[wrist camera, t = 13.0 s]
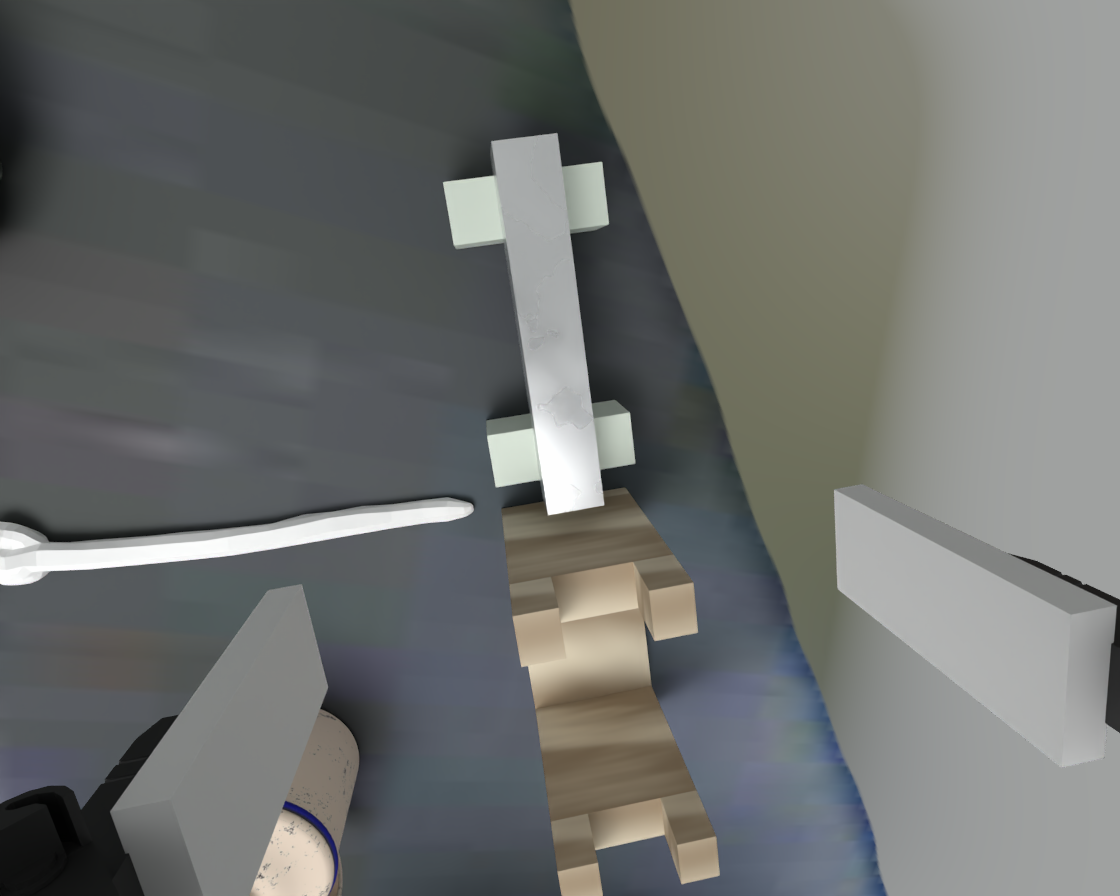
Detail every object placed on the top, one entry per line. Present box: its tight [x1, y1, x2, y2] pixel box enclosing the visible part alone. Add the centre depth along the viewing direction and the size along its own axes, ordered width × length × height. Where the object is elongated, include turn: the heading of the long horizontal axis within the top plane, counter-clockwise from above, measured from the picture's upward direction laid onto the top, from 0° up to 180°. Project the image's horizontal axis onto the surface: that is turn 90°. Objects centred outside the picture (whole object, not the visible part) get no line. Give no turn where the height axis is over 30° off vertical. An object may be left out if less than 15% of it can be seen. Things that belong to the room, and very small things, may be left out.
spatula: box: [0, 497, 474, 585], centre depth 38 cm, size 28×4×3 cm, turn 96°
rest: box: [443, 162, 635, 487], centre depth 36 cm, size 16×8×4 cm, turn 8°
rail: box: [490, 133, 604, 515], centre depth 33 cm, size 18×3×3 cm, turn 8°
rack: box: [501, 487, 720, 896], centre depth 36 cm, size 16×8×14 cm, turn 8°
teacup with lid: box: [249, 709, 359, 896], centre depth 38 cm, size 12×9×12 cm
